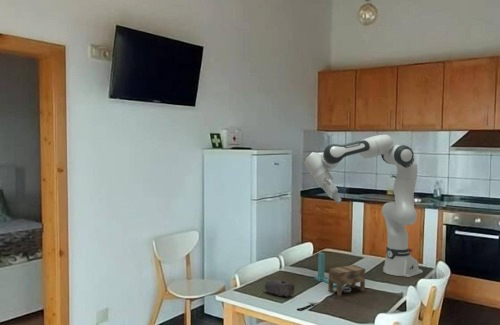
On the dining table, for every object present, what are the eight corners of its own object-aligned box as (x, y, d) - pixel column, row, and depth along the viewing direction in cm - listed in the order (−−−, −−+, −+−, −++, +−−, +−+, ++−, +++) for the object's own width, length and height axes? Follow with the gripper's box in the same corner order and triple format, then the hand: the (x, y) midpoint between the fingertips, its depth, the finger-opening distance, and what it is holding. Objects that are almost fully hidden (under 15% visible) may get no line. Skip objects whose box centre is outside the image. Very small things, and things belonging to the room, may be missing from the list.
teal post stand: (313, 279, 242) (313, 253, 241) (323, 277, 245) (324, 251, 244) (332, 288, 228) (333, 260, 227) (343, 286, 231) (344, 259, 230)
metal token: (346, 289, 227) (346, 286, 227) (352, 292, 223) (353, 289, 223) (339, 290, 225) (340, 287, 225) (345, 293, 221) (346, 290, 221)
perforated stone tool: (262, 293, 219) (262, 278, 218) (267, 290, 223) (268, 276, 223) (289, 299, 210) (290, 285, 210) (295, 296, 215) (295, 282, 215)
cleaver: (283, 306, 203) (301, 312, 196) (283, 305, 203) (301, 311, 196) (324, 292, 223) (341, 297, 216) (324, 291, 223) (341, 296, 216)
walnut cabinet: (353, 286, 232) (354, 264, 231) (365, 291, 224) (366, 269, 223) (328, 290, 224) (329, 268, 223) (340, 296, 216) (340, 273, 216)
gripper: (330, 173, 232) (346, 196, 229) (329, 180, 252) (343, 201, 249) (319, 180, 232) (335, 203, 229) (319, 186, 252) (334, 207, 249)
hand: (339, 202), depth 239 cm, fingers open, 8 cm apart
